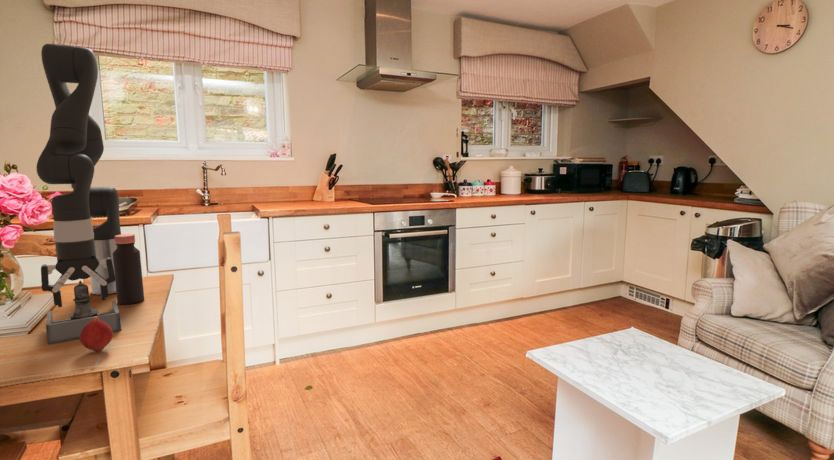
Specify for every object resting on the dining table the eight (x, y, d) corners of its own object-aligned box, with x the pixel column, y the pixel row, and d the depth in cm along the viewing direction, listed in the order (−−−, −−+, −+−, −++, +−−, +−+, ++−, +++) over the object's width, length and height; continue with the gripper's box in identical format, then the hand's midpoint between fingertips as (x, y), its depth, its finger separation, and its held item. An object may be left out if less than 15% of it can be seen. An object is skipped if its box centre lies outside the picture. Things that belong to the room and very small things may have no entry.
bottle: (115, 306, 128) (108, 237, 125) (119, 299, 134) (113, 234, 131) (142, 303, 131) (136, 236, 128) (146, 296, 137) (139, 232, 134)
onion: (78, 359, 94) (74, 323, 93) (86, 348, 100) (82, 314, 98) (111, 354, 97) (107, 319, 96) (116, 344, 102) (113, 310, 101)
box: (49, 328, 111) (47, 311, 110) (117, 316, 120) (115, 300, 119) (48, 344, 102) (45, 325, 101) (121, 330, 110) (119, 312, 109)
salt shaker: (88, 332, 108) (83, 284, 106) (64, 331, 108) (58, 283, 106) (105, 322, 114) (100, 277, 112) (82, 322, 114) (77, 277, 112)
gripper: (109, 233, 114) (115, 294, 117) (36, 238, 106) (45, 304, 108) (111, 237, 108) (118, 301, 111) (34, 243, 100) (44, 313, 102)
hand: (82, 302), depth 110 cm, fingers open, 8 cm apart
